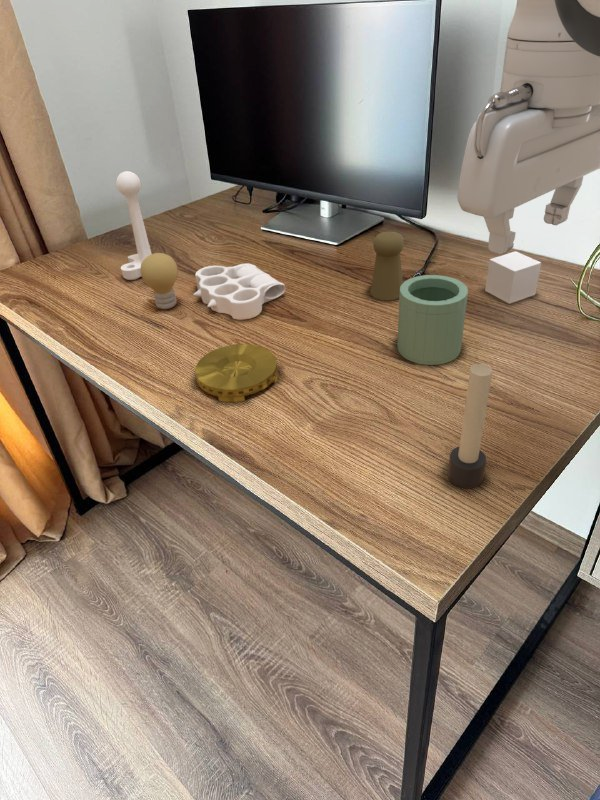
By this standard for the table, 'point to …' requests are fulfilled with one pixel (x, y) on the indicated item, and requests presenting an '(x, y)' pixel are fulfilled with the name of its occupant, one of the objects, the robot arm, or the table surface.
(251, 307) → the white brass knuckles
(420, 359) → the jar
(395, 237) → the brown pawn
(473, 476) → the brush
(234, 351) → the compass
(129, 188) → the joystick
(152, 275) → the light bulb
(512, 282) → the white cube
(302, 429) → the table surface
